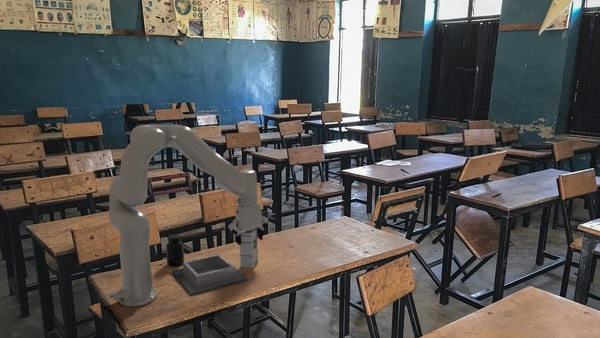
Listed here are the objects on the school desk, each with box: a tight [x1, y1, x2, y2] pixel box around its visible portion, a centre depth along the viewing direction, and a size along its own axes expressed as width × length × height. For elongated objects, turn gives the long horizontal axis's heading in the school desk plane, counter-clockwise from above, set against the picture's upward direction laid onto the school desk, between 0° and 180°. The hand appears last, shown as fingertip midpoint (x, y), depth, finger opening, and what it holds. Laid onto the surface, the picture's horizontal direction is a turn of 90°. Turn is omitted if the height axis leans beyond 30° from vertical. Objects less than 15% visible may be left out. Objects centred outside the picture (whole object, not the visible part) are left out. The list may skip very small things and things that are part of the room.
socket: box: [171, 253, 249, 296], centre depth 172 cm, size 22×22×5 cm
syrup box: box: [239, 228, 259, 269], centre depth 182 cm, size 6×6×14 cm
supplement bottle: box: [165, 234, 185, 268], centre depth 183 cm, size 7×7×12 cm
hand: (249, 241), depth 182 cm, fingers open, 9 cm apart
